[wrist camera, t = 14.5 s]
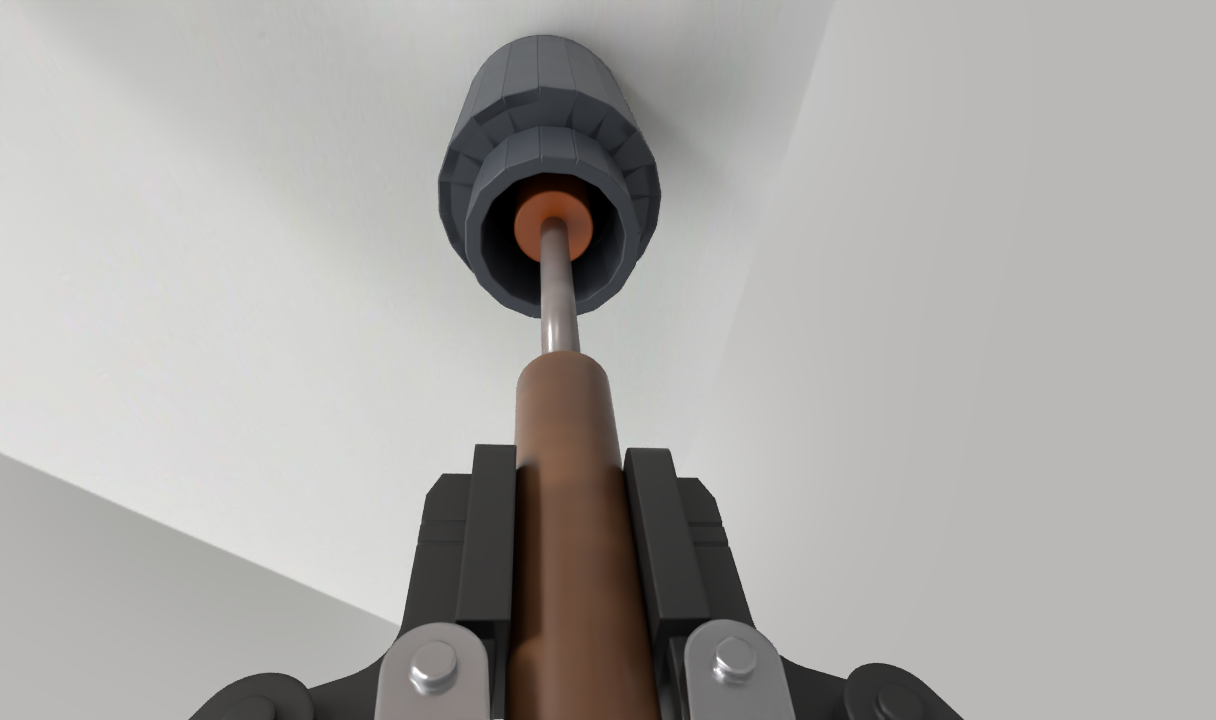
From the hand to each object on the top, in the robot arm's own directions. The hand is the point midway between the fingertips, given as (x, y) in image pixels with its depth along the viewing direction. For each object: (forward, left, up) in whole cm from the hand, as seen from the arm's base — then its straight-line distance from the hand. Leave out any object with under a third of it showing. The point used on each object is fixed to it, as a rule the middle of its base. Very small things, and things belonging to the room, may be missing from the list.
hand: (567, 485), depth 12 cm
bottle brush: (0, 0, -19) cm, 19 cm away
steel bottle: (0, 0, -26) cm, 26 cm away
